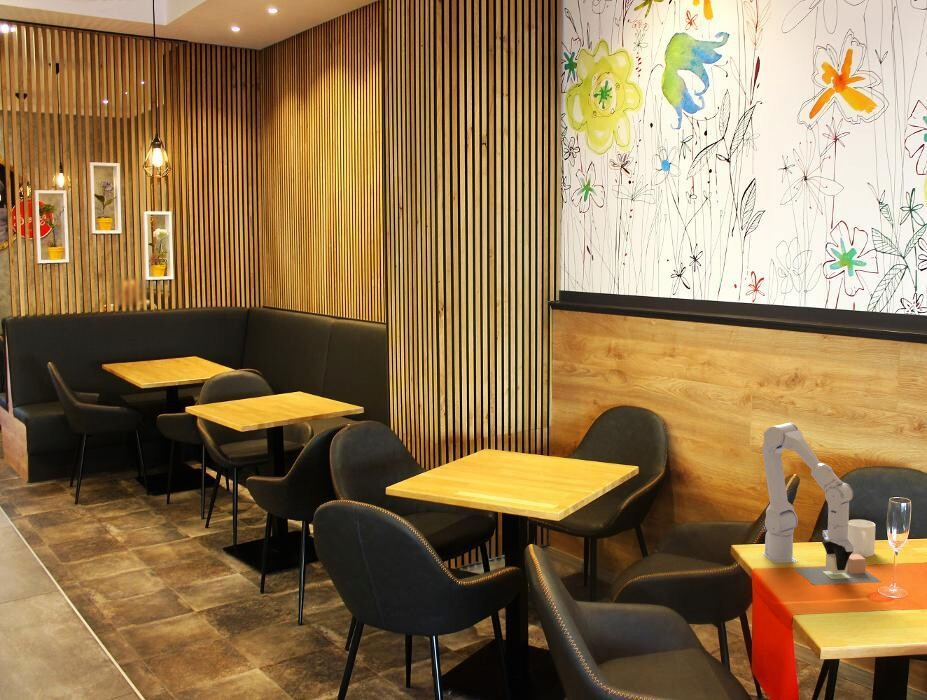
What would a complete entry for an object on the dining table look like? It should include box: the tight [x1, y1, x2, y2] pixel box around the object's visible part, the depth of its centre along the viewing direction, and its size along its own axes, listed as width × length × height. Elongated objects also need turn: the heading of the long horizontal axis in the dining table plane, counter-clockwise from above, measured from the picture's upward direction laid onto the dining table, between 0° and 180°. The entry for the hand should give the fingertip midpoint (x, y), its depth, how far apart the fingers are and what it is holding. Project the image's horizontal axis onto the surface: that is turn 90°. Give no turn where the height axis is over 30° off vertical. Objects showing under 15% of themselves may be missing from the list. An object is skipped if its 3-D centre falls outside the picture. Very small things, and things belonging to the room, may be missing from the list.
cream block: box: [825, 553, 848, 573], centre depth 282 cm, size 4×4×4 cm
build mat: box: [792, 566, 882, 586], centre depth 283 cm, size 14×21×1 cm, turn 95°
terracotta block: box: [847, 554, 867, 574], centre depth 286 cm, size 4×4×4 cm
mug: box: [848, 519, 876, 558], centre depth 300 cm, size 12×8×10 cm
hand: (836, 566), depth 283 cm, fingers closed on cream block, 4 cm apart
